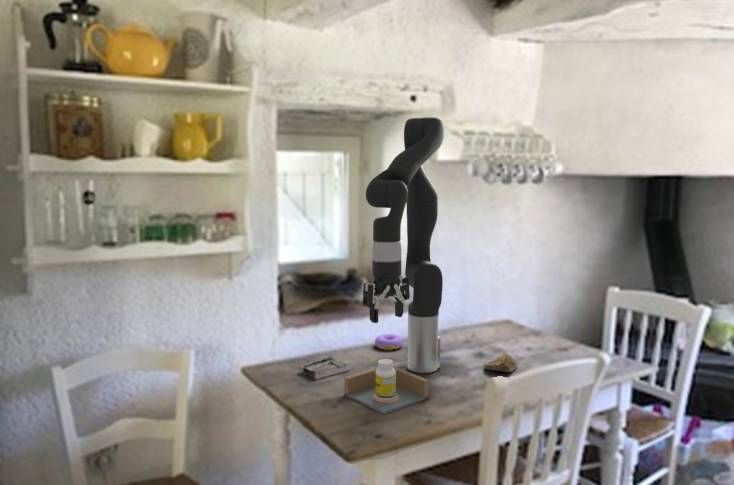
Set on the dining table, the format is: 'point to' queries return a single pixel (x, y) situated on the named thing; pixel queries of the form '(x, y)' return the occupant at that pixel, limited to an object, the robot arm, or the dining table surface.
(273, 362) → the dining table surface
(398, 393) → the corner arena
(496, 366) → the decorative stone
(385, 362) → the supplement bottle
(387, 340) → the donut
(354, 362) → the dining table surface
